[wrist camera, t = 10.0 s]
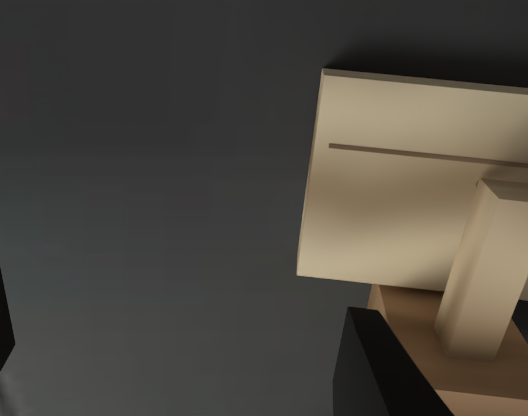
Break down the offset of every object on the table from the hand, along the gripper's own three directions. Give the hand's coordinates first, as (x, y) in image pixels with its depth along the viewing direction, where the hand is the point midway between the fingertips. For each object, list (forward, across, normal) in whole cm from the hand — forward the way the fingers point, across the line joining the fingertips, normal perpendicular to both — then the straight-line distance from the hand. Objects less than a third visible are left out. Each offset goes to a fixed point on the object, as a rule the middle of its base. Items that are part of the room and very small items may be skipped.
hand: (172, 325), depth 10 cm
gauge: (+10, -9, +4) cm, 14 cm away
